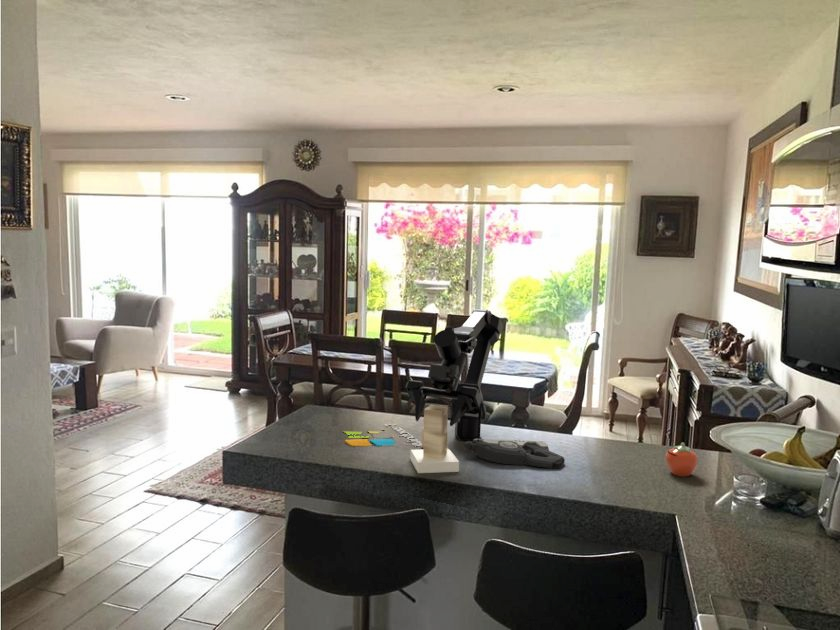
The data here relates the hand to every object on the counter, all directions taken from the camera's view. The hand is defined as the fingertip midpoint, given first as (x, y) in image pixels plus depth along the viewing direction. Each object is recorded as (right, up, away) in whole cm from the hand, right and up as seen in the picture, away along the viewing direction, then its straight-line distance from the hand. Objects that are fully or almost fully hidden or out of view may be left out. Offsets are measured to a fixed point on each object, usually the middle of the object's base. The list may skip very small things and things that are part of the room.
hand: (433, 422), depth 147 cm
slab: (0, -11, +2) cm, 12 cm away
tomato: (+61, -13, +2) cm, 63 cm away
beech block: (0, -8, +2) cm, 9 cm away
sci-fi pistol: (+21, -12, +8) cm, 25 cm away
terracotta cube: (+1, -10, +16) cm, 18 cm away
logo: (-15, -9, +24) cm, 29 cm away
